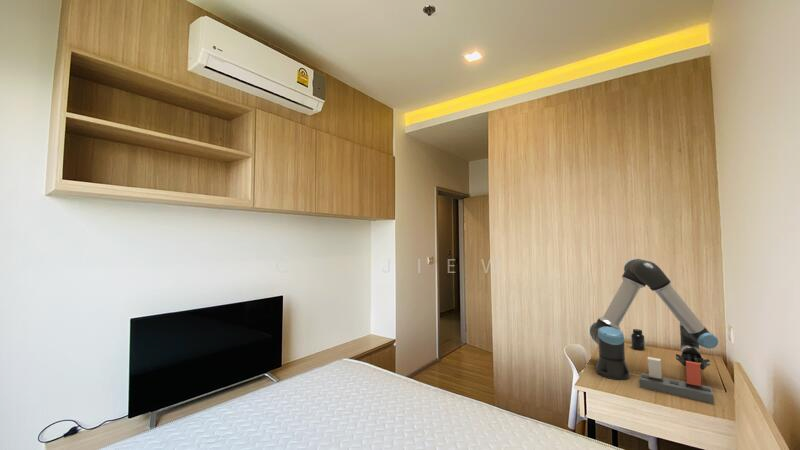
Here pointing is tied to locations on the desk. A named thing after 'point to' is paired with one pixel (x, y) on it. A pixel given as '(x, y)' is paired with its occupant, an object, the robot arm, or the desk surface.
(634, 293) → the robot arm
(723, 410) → the desk surface
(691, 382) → the red upright block
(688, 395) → the grey slotted base
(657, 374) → the white rocker
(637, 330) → the supplement bottle
